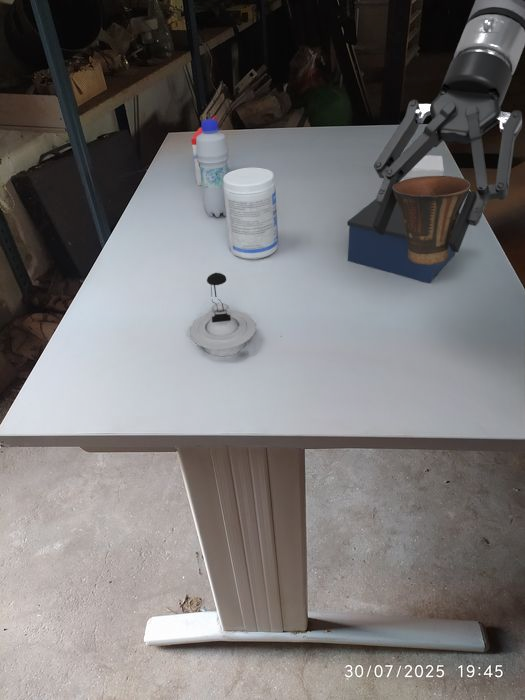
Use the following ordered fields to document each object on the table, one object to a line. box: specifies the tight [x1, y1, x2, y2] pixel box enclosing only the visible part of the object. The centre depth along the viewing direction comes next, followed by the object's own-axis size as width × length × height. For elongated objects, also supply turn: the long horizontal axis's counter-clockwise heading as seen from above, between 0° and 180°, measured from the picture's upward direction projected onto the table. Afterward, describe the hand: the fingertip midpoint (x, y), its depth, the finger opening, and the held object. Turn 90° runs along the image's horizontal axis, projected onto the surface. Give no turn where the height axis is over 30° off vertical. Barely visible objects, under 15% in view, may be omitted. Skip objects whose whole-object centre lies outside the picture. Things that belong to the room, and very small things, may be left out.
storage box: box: [346, 197, 461, 284], centre depth 98 cm, size 17×13×8 cm
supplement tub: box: [223, 167, 279, 260], centre depth 102 cm, size 10×10×15 cm
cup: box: [392, 175, 472, 265], centre depth 67 cm, size 9×9×10 cm
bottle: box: [196, 118, 230, 218], centre depth 114 cm, size 7×7×20 cm
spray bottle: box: [190, 114, 218, 187], centre depth 133 cm, size 8×5×15 cm, turn 172°
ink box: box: [399, 154, 445, 182], centre depth 111 cm, size 9×8×12 cm
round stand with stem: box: [188, 272, 257, 357], centre depth 79 cm, size 12×10×10 cm
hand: (414, 238), depth 66 cm, fingers closed on cup, 9 cm apart
